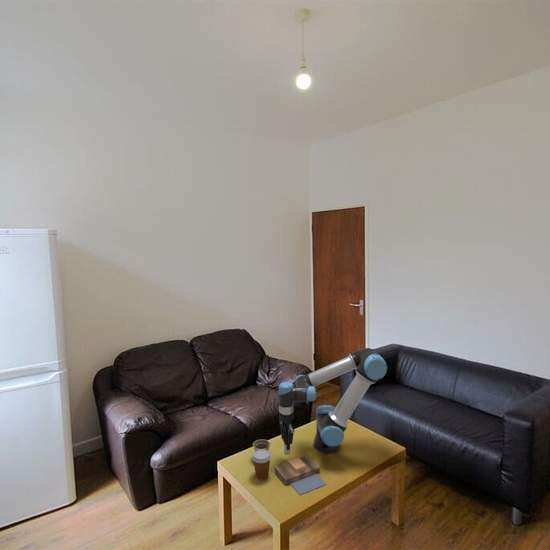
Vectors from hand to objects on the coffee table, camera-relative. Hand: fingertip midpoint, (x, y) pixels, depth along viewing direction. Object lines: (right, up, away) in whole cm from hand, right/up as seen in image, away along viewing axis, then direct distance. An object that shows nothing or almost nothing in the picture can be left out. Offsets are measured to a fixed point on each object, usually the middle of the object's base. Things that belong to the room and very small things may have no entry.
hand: (287, 454), depth 193 cm
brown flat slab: (+5, -5, -9) cm, 11 cm away
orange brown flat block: (+5, -2, -9) cm, 10 cm away
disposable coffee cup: (-13, -6, -11) cm, 18 cm away
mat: (+10, -6, -18) cm, 21 cm away
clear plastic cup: (-14, -5, +3) cm, 15 cm away
